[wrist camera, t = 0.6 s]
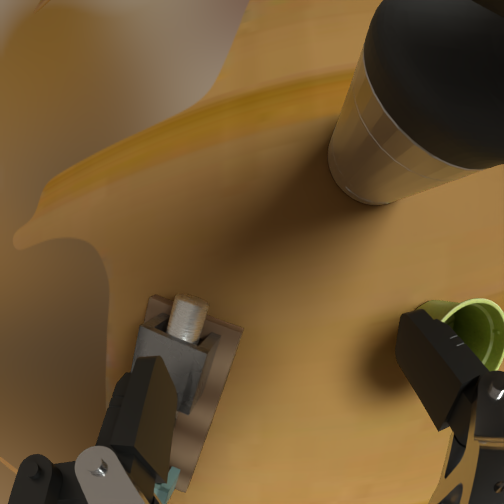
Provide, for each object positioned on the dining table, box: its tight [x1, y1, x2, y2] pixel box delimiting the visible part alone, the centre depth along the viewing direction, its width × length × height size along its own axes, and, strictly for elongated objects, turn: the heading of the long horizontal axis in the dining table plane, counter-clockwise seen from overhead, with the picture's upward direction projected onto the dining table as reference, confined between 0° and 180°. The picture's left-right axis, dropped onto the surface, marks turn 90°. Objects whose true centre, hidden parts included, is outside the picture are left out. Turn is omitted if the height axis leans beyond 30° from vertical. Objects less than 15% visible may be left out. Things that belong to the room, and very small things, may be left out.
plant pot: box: [416, 298, 504, 371], centre depth 23 cm, size 9×9×9 cm
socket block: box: [154, 466, 180, 504], centre depth 29 cm, size 5×7×5 cm
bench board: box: [144, 295, 244, 493], centre depth 31 cm, size 27×10×2 cm, turn 162°
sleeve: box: [131, 313, 221, 416], centre depth 27 cm, size 7×6×5 cm
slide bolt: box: [166, 294, 209, 432], centre depth 21 cm, size 20×4×16 cm, turn 162°
